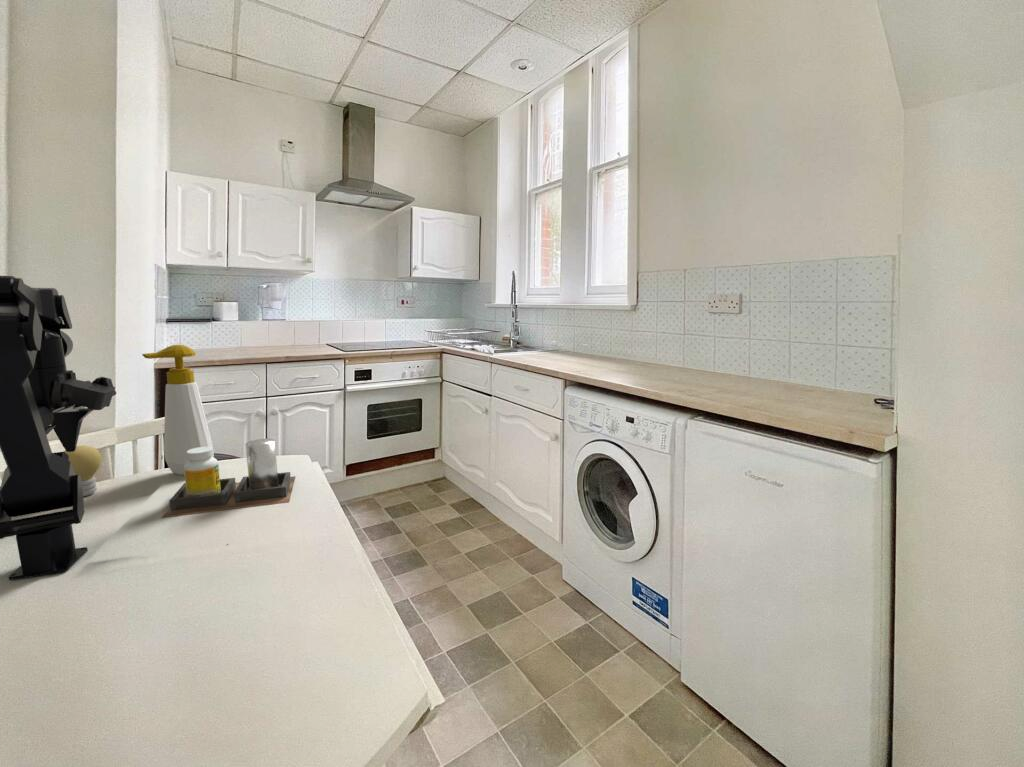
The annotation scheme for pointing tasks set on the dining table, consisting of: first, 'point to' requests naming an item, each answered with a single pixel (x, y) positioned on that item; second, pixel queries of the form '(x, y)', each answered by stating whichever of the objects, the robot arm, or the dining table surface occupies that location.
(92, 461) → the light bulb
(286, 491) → the brown divided tray
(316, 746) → the dining table surface
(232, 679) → the dining table surface
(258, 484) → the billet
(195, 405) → the soap bottle
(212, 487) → the supplement bottle
